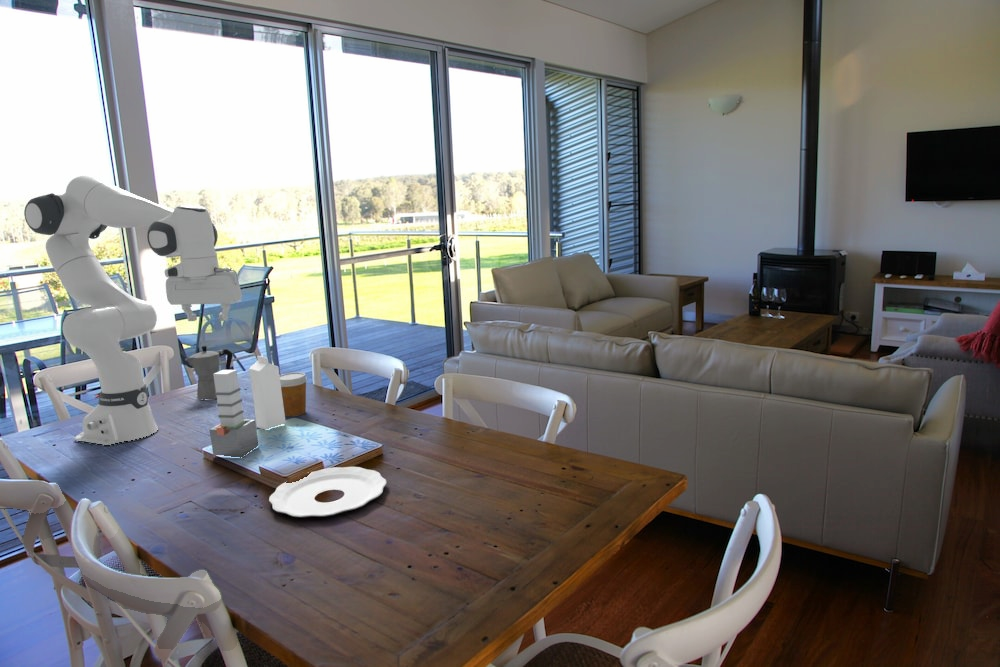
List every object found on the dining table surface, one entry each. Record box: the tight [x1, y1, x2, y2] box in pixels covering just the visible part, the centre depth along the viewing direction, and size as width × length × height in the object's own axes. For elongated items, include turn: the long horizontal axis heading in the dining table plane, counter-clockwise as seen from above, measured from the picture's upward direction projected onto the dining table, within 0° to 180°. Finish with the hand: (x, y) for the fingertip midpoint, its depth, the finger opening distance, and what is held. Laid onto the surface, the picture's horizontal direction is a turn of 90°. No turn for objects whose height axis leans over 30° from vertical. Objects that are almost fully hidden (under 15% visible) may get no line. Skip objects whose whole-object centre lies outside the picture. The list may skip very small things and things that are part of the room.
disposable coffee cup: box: [279, 372, 308, 417], centre depth 211 cm, size 10×10×12 cm
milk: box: [248, 355, 287, 430], centre depth 196 cm, size 6×6×22 cm
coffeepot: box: [184, 345, 234, 401], centre depth 235 cm, size 15×9×18 cm, turn 125°
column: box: [213, 369, 245, 429], centre depth 176 cm, size 4×4×16 cm
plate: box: [268, 466, 387, 519], centre depth 152 cm, size 25×25×2 cm
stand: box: [208, 418, 260, 459], centre depth 178 cm, size 14×14×10 cm
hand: (208, 320), depth 180 cm, fingers open, 8 cm apart
